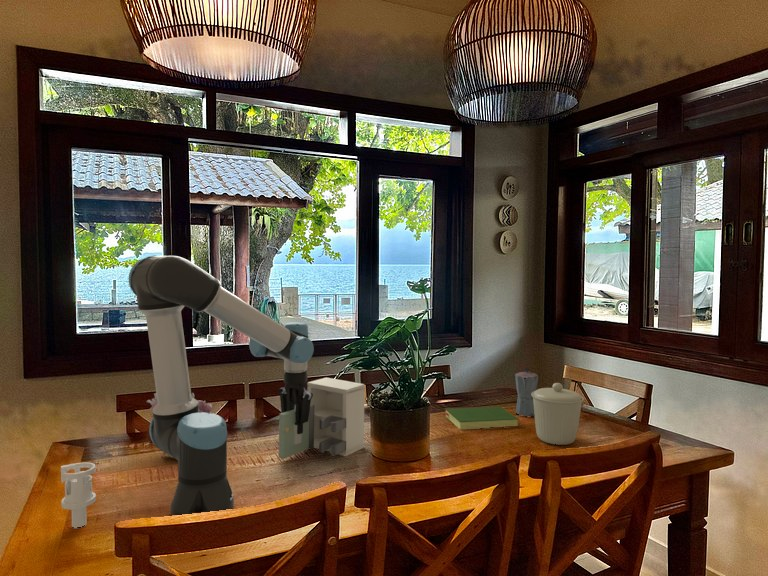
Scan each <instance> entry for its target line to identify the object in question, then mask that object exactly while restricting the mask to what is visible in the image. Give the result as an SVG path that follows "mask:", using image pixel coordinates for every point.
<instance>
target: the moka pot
mask: <svg viewBox="0 0 768 576" xmlns="http://www.w3.org/2000/svg"><path fill="white" fill-rule="evenodd" d="M514 377H515V387H516V388H515V389H516V392H517V400H516V407H515V414H516V413H517V414H519V415H523V416H534V403H533V397H532V395H531V393H532V392H534V391H536V390H538V389H537V387H538V381H539V375H538V374H537V373H536V372H530V369H529V368H528V367H527V368H524V371H521V372H520V371H519V372H517V373H514ZM534 417H535V416H534Z"/></svg>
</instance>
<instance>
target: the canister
mask: <svg viewBox="0 0 768 576" xmlns="http://www.w3.org/2000/svg"><path fill="white" fill-rule="evenodd" d="M531 395H532V397H533V403H534V415H535V416H534V424H535V425H534V426H535V432H536V434H537V438H539V440H540V441H542V442H544V443H547V444H551V445H555V444H556V445H557V446H560V445H561V446H566V445H570V444H572V443H574V442H575V441H576V439H577V435H578V429H579V423H580V417H581V409H582V403H583V402H584V400H585V398H584V397H583V396H582V395H581V394H580V393H578V392H576V391H574V390H571V389H566V388H564V387H563V384H562V383H560V382H554V383H553V384H552V387H541V388H538V389H536V391H534V392H532V393H531Z"/></svg>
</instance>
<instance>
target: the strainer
mask: <svg viewBox="0 0 768 576" xmlns="http://www.w3.org/2000/svg"><path fill="white" fill-rule="evenodd" d="M83 468H87V470H82V471H81V469H83ZM88 468H89V469H88ZM70 470H74V472H71V473H70V472H69V471H70ZM95 472H96V464H95V463H94V462H87V461H86V462H78V463H70V464H64V465H61V466H60V482H61V483H64V497H62V499H61V501H60V502H61V508H62V509H64V510H71V528H72V527H74V528H73V529H78V528H77V527H81V528H83V527H82V526H84V525H85V526H87V521H88V520H87V507H88V506H91V505H92V504H94V503H95V502H96V501H97V493H95V492H93V476H92V474H94V473H95ZM85 526H84V527H85Z"/></svg>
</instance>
